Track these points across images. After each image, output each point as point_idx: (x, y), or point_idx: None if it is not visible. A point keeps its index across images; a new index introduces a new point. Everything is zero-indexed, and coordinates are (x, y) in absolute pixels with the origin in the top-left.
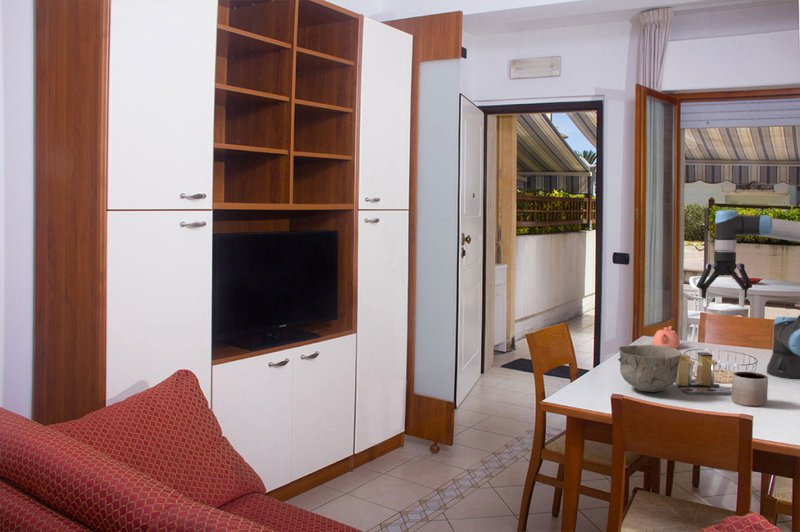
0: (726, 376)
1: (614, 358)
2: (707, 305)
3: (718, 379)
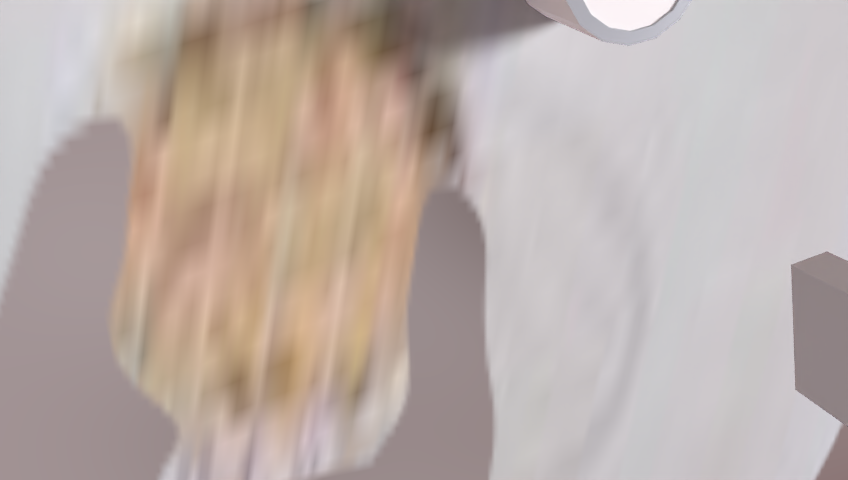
0: (227, 225)
1: (821, 461)
2: (835, 274)
3: (301, 102)
